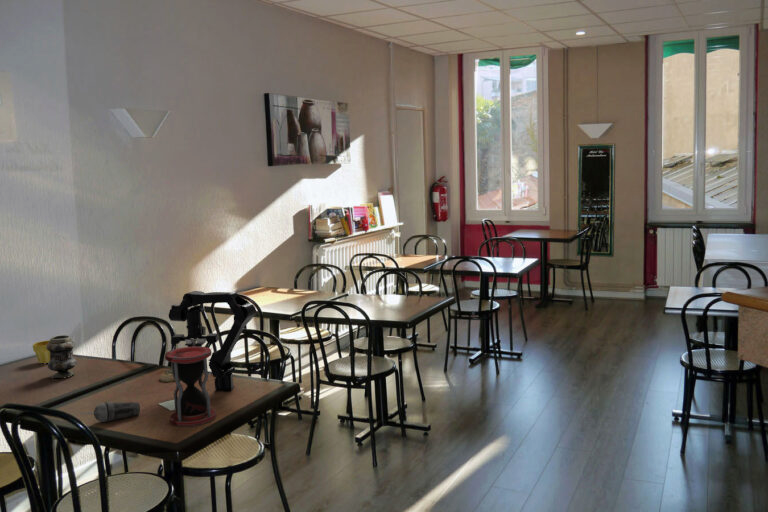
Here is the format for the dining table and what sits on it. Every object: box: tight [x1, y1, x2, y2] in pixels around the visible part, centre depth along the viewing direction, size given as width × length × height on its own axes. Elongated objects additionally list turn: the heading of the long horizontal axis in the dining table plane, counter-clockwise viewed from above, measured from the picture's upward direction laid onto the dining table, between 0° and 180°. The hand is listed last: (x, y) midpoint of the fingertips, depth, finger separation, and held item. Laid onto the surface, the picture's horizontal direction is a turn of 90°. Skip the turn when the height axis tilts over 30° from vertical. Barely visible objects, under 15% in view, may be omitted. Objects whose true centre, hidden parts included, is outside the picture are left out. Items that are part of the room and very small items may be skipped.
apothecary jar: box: [46, 334, 78, 379], centre depth 321 cm, size 12×12×18 cm
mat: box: [158, 399, 175, 411], centre depth 277 cm, size 11×11×1 cm
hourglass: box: [164, 345, 217, 427], centre depth 258 cm, size 16×16×25 cm
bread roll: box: [159, 368, 181, 383], centre depth 311 cm, size 11×11×5 cm
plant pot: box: [32, 339, 50, 364], centre depth 346 cm, size 10×10×10 cm
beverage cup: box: [80, 401, 141, 423], centre depth 261 cm, size 7×7×20 cm
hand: (196, 358), depth 296 cm, fingers closed
